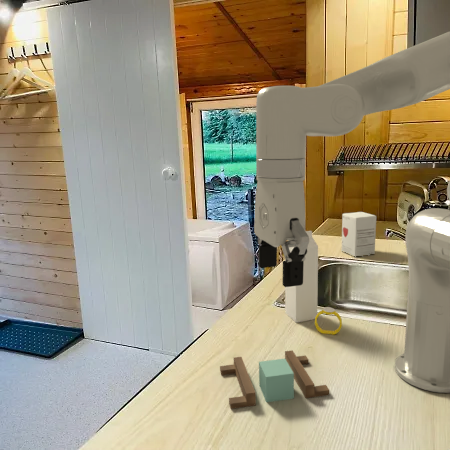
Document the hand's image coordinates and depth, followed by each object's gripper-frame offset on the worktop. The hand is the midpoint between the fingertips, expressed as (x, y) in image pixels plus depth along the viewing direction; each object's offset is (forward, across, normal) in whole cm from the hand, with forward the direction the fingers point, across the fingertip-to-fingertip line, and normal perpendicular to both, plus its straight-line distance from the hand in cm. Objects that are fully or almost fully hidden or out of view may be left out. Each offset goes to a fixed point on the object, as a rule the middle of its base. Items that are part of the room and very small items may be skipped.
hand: (279, 275), depth 68 cm
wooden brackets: (+23, -5, +1) cm, 24 cm away
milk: (+23, -29, +20) cm, 42 cm away
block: (+23, -2, +1) cm, 23 cm away
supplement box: (+22, -71, +64) cm, 98 cm away
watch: (+23, -19, +21) cm, 36 cm away
